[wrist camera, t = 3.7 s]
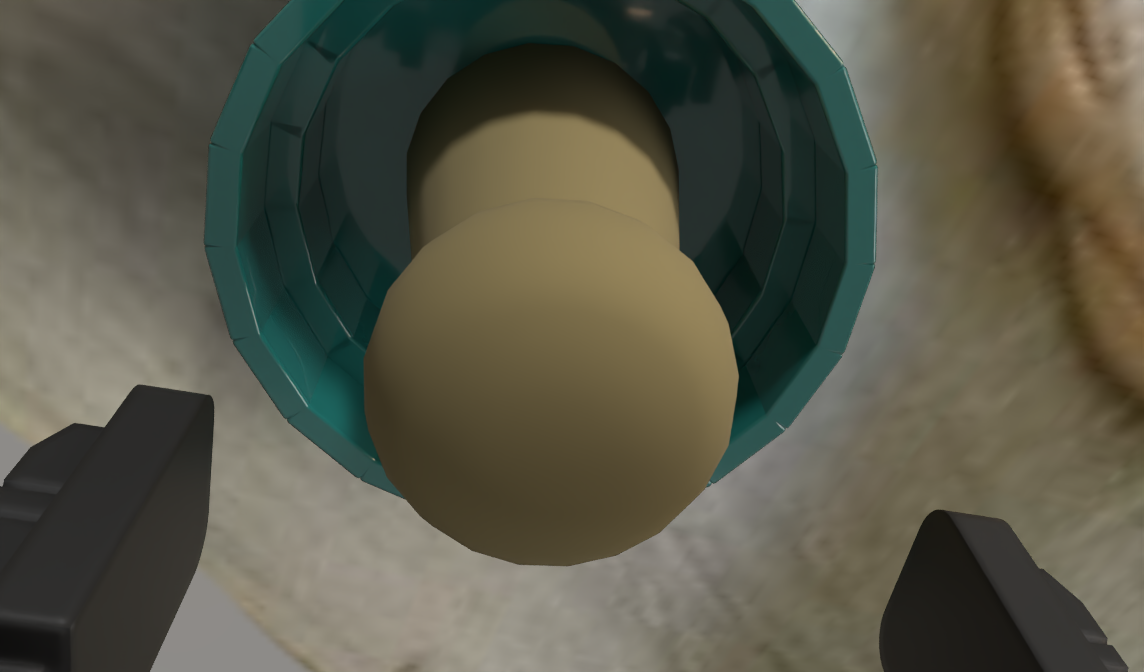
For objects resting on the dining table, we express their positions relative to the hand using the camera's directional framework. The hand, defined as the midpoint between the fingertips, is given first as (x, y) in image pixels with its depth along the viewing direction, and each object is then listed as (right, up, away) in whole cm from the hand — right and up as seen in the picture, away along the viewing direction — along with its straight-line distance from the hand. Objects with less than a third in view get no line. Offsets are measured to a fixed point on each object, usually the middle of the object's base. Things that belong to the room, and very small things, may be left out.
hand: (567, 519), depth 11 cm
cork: (-1, +6, +11) cm, 13 cm away
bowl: (-1, +6, +12) cm, 13 cm away
